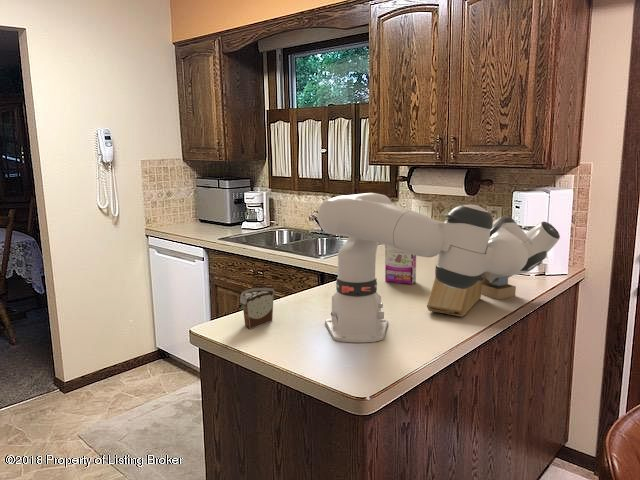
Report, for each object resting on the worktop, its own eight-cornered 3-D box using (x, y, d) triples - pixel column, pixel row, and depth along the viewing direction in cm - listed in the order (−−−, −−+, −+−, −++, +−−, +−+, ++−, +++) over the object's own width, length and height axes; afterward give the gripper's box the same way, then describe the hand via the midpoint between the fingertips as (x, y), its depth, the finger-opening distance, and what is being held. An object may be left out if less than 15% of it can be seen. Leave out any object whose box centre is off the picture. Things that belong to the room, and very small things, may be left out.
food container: (261, 315, 167) (260, 285, 166) (275, 319, 164) (274, 288, 162) (232, 326, 158) (230, 294, 156) (246, 330, 154) (245, 297, 152)
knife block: (488, 292, 190) (492, 206, 185) (461, 320, 161) (465, 220, 155) (457, 288, 196) (460, 205, 190) (425, 315, 166) (428, 217, 161)
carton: (515, 295, 185) (516, 268, 183) (497, 299, 181) (499, 271, 180) (496, 290, 193) (498, 263, 191) (479, 293, 189) (481, 266, 187)
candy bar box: (416, 282, 205) (417, 240, 202) (412, 285, 201) (413, 242, 198) (389, 278, 210) (389, 238, 207) (384, 281, 206) (385, 240, 203)
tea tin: (507, 295, 186) (508, 267, 184) (497, 297, 184) (499, 269, 182) (497, 292, 190) (498, 265, 188) (487, 294, 188) (489, 266, 186)
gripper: (503, 269, 170) (479, 291, 180) (546, 261, 179) (521, 283, 190) (493, 253, 173) (470, 275, 183) (536, 246, 182) (512, 268, 193)
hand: (496, 279), depth 186 cm, fingers closed on tea tin, 5 cm apart
